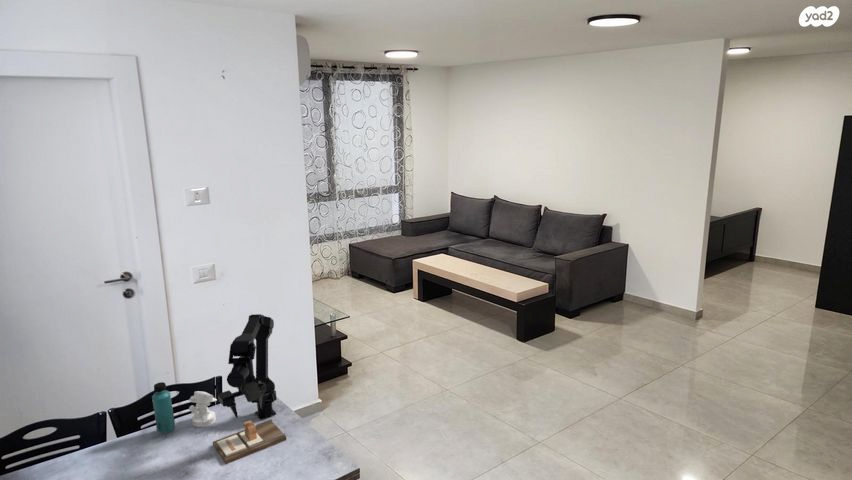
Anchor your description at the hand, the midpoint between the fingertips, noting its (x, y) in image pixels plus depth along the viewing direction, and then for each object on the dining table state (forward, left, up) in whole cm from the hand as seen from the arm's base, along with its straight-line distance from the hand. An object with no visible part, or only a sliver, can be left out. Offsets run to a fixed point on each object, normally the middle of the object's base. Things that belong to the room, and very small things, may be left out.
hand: (249, 413), depth 192 cm
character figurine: (-26, -9, -12) cm, 30 cm away
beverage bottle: (-27, -23, -12) cm, 37 cm away
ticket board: (0, -2, -12) cm, 12 cm away
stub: (0, 0, -10) cm, 10 cm away
